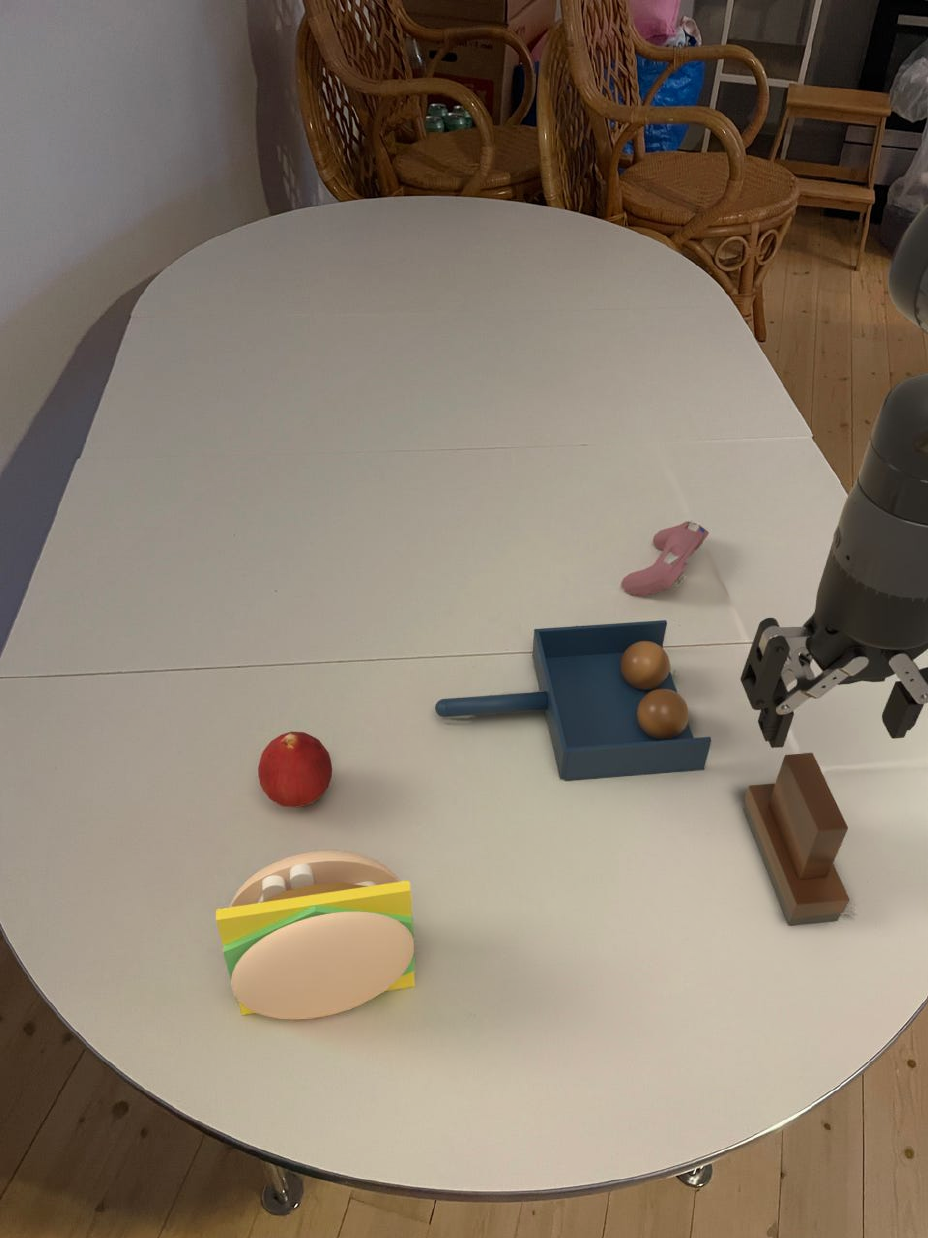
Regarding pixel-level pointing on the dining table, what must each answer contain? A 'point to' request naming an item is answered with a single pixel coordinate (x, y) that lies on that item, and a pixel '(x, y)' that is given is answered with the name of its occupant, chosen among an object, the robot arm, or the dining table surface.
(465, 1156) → the dining table surface
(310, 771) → the onion
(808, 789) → the brush
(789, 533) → the dining table surface
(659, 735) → the cork ball
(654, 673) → the brown ball
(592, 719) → the dustpan
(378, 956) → the hamburger
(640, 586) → the pink socks
